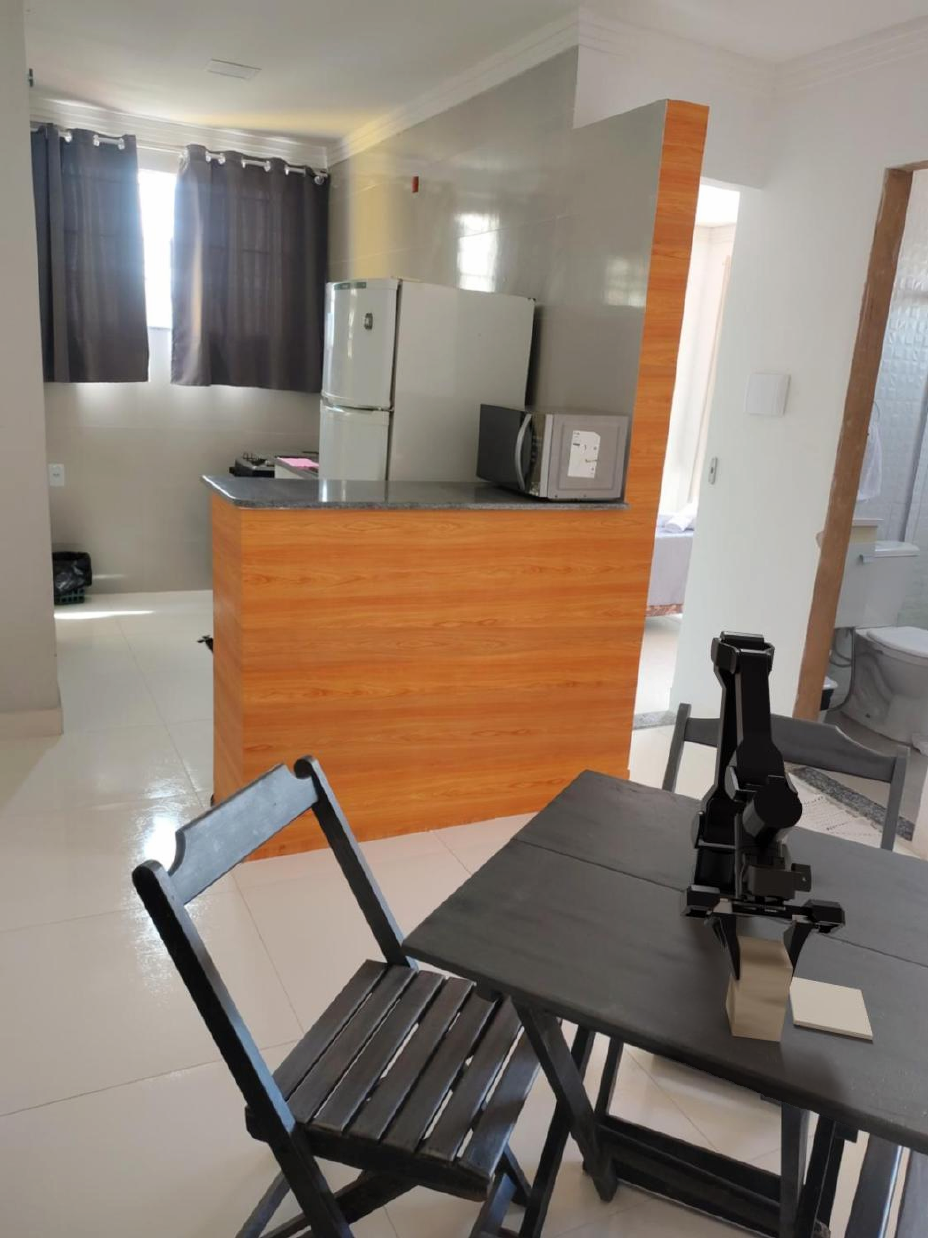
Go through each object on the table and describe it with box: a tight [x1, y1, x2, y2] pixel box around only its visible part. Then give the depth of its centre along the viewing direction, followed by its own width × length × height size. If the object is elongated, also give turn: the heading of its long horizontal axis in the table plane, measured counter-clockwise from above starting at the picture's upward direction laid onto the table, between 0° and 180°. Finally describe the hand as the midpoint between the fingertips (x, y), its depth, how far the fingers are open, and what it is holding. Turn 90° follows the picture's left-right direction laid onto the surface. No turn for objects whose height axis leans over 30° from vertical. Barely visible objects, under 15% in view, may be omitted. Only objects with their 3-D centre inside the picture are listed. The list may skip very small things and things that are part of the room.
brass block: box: [725, 934, 793, 1042], centre depth 112 cm, size 6×6×10 cm
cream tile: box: [788, 976, 874, 1041], centre depth 117 cm, size 9×9×1 cm
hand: (762, 983), depth 111 cm, fingers closed on brass block, 5 cm apart
